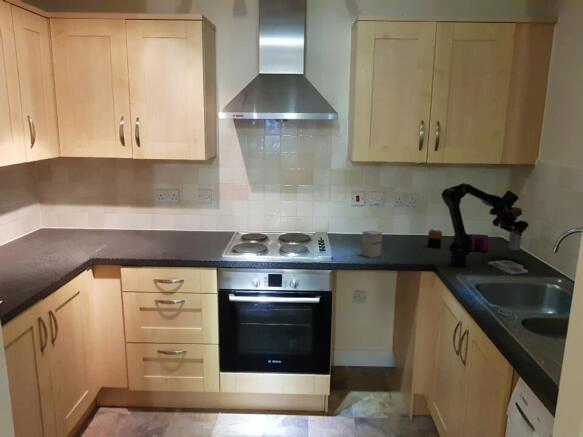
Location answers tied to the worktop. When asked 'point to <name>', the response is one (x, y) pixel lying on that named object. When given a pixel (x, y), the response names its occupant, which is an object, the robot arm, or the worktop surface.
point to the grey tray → (508, 266)
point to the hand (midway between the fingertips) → (517, 234)
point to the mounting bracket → (479, 242)
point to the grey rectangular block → (514, 241)
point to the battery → (434, 239)
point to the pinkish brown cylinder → (371, 243)
